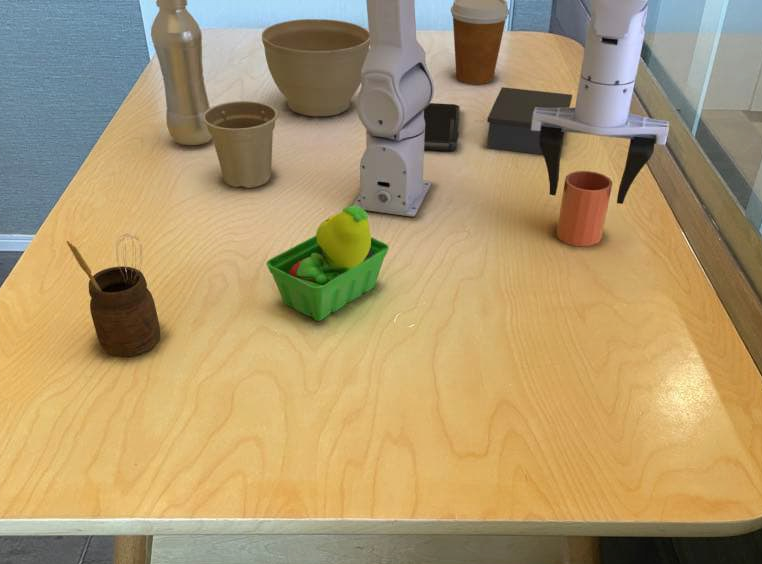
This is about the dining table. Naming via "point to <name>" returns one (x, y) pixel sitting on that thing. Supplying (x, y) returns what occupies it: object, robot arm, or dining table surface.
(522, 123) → the container
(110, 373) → the dining table surface
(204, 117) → the flower pot
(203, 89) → the plastic bottle
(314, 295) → the fruit basket
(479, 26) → the disposable coffee cup
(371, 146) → the robot arm
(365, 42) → the planter bowl
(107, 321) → the utensil holder
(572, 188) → the cup
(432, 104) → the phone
